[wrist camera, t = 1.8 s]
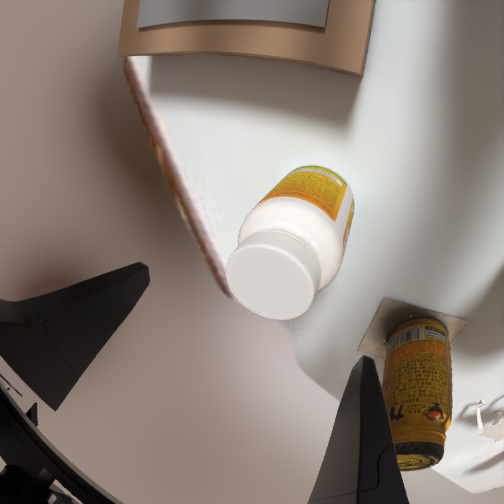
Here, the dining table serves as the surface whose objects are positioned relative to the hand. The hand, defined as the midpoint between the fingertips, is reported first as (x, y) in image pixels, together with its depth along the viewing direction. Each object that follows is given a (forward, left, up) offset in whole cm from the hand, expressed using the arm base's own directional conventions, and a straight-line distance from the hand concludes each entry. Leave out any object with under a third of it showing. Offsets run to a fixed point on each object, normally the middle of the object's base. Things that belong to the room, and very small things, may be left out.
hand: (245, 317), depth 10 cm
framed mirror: (+7, -17, -12) cm, 22 cm away
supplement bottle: (0, 0, -12) cm, 12 cm away
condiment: (-12, +9, -12) cm, 19 cm away
